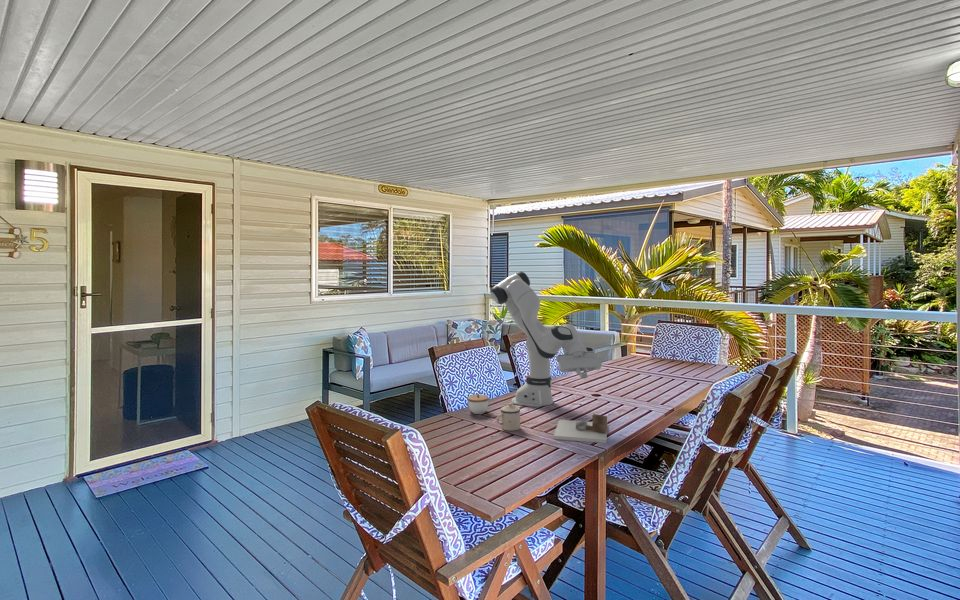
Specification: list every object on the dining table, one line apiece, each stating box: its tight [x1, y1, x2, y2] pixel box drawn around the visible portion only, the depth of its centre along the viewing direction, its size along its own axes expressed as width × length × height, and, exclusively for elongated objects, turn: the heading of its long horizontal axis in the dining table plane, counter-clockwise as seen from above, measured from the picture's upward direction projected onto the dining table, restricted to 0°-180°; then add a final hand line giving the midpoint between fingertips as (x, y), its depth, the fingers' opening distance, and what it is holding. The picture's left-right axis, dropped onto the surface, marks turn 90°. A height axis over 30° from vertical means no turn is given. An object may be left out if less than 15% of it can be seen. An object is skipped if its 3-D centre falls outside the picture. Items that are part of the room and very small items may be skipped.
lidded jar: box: [467, 393, 490, 415], centre depth 257 cm, size 11×11×9 cm
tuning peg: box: [575, 413, 608, 434], centre depth 222 cm, size 14×5×7 cm, turn 56°
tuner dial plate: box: [553, 419, 608, 444], centre depth 225 cm, size 22×22×2 cm
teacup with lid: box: [496, 402, 521, 432], centre depth 231 cm, size 12×9×12 cm
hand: (584, 377), depth 233 cm, fingers closed
